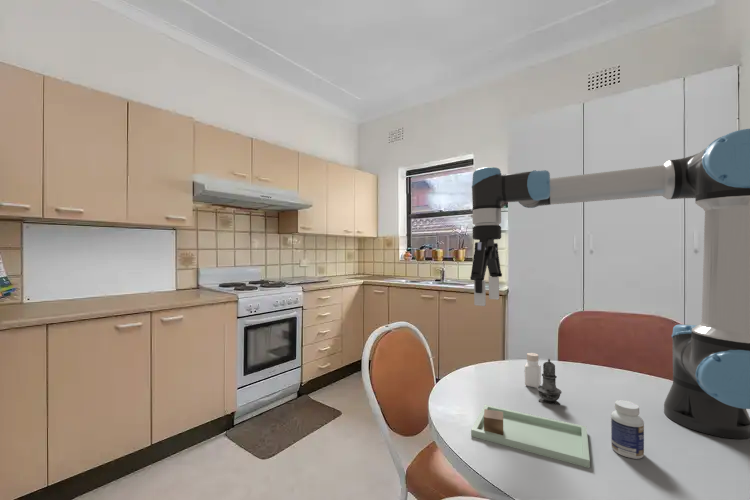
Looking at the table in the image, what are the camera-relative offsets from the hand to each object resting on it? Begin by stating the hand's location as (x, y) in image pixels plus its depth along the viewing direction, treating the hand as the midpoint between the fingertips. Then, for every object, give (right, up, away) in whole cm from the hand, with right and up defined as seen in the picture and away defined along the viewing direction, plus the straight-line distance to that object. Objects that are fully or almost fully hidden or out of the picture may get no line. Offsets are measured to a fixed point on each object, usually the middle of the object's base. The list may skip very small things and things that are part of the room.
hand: (487, 302), depth 93 cm
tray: (+3, -27, -18) cm, 33 cm away
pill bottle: (+21, -27, -24) cm, 42 cm away
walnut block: (-4, -27, -17) cm, 32 cm away
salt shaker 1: (+17, -27, +10) cm, 34 cm away
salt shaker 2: (+16, -27, -2) cm, 32 cm away
